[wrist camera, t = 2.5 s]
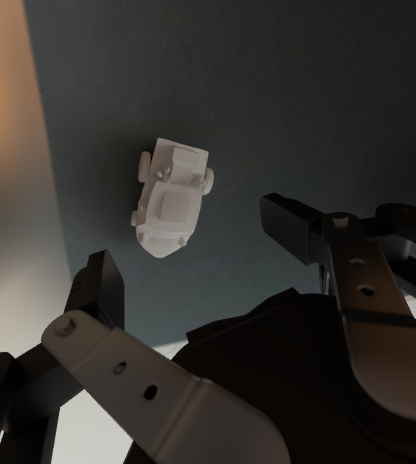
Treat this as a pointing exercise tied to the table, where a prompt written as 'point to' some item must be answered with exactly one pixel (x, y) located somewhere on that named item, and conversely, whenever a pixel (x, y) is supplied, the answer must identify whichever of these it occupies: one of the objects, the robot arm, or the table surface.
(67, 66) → the table surface
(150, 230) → the toy car
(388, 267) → the robot arm
